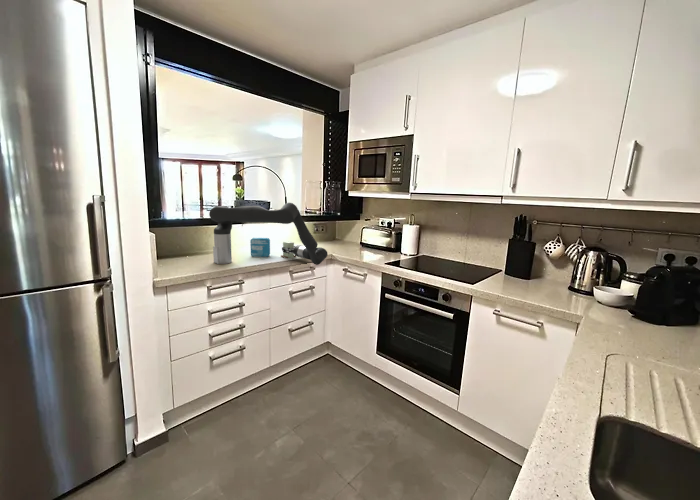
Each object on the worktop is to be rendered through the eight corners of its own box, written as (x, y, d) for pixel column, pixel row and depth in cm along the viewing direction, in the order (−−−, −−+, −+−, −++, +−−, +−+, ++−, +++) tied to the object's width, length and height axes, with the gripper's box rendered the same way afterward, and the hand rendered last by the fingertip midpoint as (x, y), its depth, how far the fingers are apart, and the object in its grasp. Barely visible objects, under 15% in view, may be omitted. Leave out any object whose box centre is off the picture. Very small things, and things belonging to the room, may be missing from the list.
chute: (286, 258, 202) (286, 257, 202) (280, 256, 207) (280, 255, 207) (296, 257, 207) (296, 255, 207) (290, 255, 212) (290, 254, 212)
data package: (250, 256, 204) (250, 238, 202) (251, 255, 209) (251, 237, 207) (269, 256, 206) (269, 238, 204) (270, 255, 210) (269, 237, 208)
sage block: (288, 258, 203) (288, 243, 202) (283, 256, 207) (283, 241, 206) (293, 257, 206) (293, 242, 205) (288, 256, 211) (288, 241, 209)
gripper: (311, 245, 199) (297, 241, 210) (293, 247, 189) (278, 243, 200) (311, 256, 200) (296, 252, 212) (293, 259, 190) (278, 254, 202)
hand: (288, 248), depth 206 cm, fingers open, 8 cm apart
